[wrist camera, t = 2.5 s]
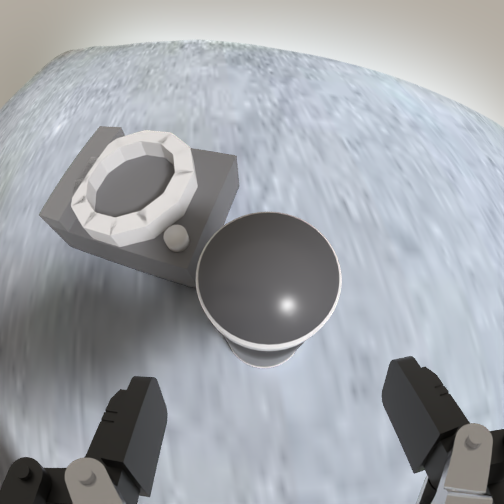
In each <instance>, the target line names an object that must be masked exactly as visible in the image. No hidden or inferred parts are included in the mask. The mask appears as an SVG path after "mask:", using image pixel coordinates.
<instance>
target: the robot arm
mask: <svg viewBox="0 0 504 504" xmlns="http://www.w3.org/2000/svg"><path fill="white" fill-rule="evenodd" d="M382 402H383V406H384V408H385V410H386V412H387V414H388V416H389V419H390V421H391V423H392V425H393V427H394V429H395V432H396V434H397V436H398V438H399V441H400V443H401V445H402V447H403V450H404V452H405V454H406V456H407V459H408V461H409V463H410V466H411V468H412V470H413V473H414V474H415V473H418V472H420V471H423V470H425V471H426V473H427V476H426V478H425V480H424V483H423V486H422V488H421V491H420V494H419V496H418V499H417V502H416V504H504V429H501V430H495V431H489V430H488V429H487V428H486V427H484V426H483V425H480V424H476V423H471V424H470V423H469V421H468V420H467V418H466V417H465V415H464V414H463V412H462V411H461V409H460V408H459V406H458V405H457V403H456V402H455V400H454V399H453V398H452V396H451V395H450V394H448V390H447V389H446V388H445V386H443V383H442V382H441V380H440V379H439V378H438V376H437V375H436V374H435V373H433V372H432V371H431V370H429V369H428V368H426V367H422V368H421V367H420V365H419V364H418V363H417V361H416V360H415V358H414V357H412V356H409V357H404V358H399V359H395V360H392V361H391V362H390V364H389V368H388V372H387V375H386V379H385V383H384V386H383V390H382ZM166 424H167V408H166V405H165V402H164V399H163V396H162V393H161V390H160V387H159V384H158V381H157V379H156V378H155V377H139V376H134V377H133V378H132V379H131V382H130V384H129V386H128V389H127V390H121V389H120V390H119V391H118V392H117V393H116V394H115V395H114V396H113V397H112V398H111V399H110V401H109V403H108V406H107V408H106V412H104V415H103V417H102V421H101V422H100V424H99V426H98V428H97V431H96V433H95V435H94V438H93V440H92V442H91V445H90V447H89V449H88V452H87V454H86V456H85V457H84V458H80V459H77V460H75V461H73V462H72V463H71V464H70V465H69V466H68V467H67V468H43V467H42V466H41V465H40V464H39V463H38V462H37V461H36V460H35V459H32V458H29V457H24V458H20V459H18V460H16V461H15V462H14V463H13V464H12V465H11V467H10V469H9V471H8V473H7V476H6V478H5V480H4V483H3V485H2V487H1V490H0V504H137V502H138V498H139V495H140V496H146V497H150V495H151V490H152V485H153V481H154V476H155V472H156V467H157V463H158V458H159V454H160V449H161V445H162V441H163V437H164V432H165V428H166Z"/></svg>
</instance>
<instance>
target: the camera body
mask: <svg viewBox="0 0 504 504" xmlns="http://www.w3.org/2000/svg"><path fill="white" fill-rule="evenodd" d="M238 188H239V178H238V167H237V156H235V155H229V154H223V153H218V152H212V151H205V150H199V149H192V148H190V147H189V146H188V145H187V144H185V143H184V142H183V141H182V140H180V139H179V138H178V137H176V136H175V135H174V134H173V133H169V132H159V131H149V130H144V131H140V132H137V133H133V134H130V135H127V136H125V135H124V133H123V130H122V128H121V127H102V126H100V127H99V128H98V129H97V131H96V132H95V133H94V134H93V136H92V137H91V138H90V139H89V141H88V142H87V143H86V145H85V146H84V147H83V149H82V150H81V151H80V153H79V154H78V155H77V157H76V158H75V159H74V161H73V162H72V164H71V165H70V166H69V168H68V169H67V171H66V172H65V174H64V175H63V177H62V178H61V180H60V181H59V183H58V184H57V186H56V187H55V189H54V190H53V192H52V194H51V195H50V197H49V198H48V200H47V202H46V203H45V205H44V207H43V208H42V210H41V212H40V213H39V216H40V217H41V218H42V219H43V220H44V221H45V222H46V223H47V224H48V225H49V226H50V227H51V228H52V229H53V230H54V231H55V232H56V233H57V234H58V235H59V236H60V237H61V238H62V239H63V240H64V241H65V242H67V243H68V244H69V245H70V246H71V247H73V248H76V249H79V250H81V251H84V252H87V253H90V254H93V255H95V256H98V257H101V258H104V259H107V260H109V261H112V262H115V263H118V264H121V265H124V266H127V267H130V268H133V269H136V270H139V271H142V272H145V273H148V274H151V275H154V276H157V277H160V278H163V279H166V280H169V281H173V282H176V283H179V284H182V285H185V286H189V287H192V288H195V289H196V270H197V264H198V261H199V258H200V255H201V253H202V251H203V249H204V247H205V245H206V244H207V242H208V241H209V240H210V238H211V237H212V236H213V235H214V234H215V233H216V232H217V231H218V230H219V229H220V228H222V227H223V225H224V222H225V220H226V217H227V215H228V212H229V210H230V208H231V205H232V203H233V200H234V198H235V195H236V193H237V190H238Z"/></svg>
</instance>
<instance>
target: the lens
mask: <svg viewBox="0 0 504 504" xmlns="http://www.w3.org/2000/svg"><path fill="white" fill-rule="evenodd" d="M341 284H342V280H341V269H340V264H339V261H338V258H337V255H336V253H335V251H334V249H333V248H332V246H331V244H330V243H329V241H328V240H327V239H326V238H325V236H324V235H323V234H322V233H321V232H320V231H318V230H317V229H316V228H315V227H313V226H312V225H311V224H309V223H307V222H306V221H304V220H302V219H300V218H297V217H295V216H292V215H288V214H284V213H279V212H258V213H252V214H248V215H244V216H242V217H239V218H236V219H234V220H233V221H231V222H229V223H227V224H226V225H224V226H223V227H222V228H220V229H219V230H218V231H217V232H216V233H215V234H214V235H213V236H212V237H211V238H210V240H209V241H208V242H207V244H206V245H205V247H204V249H203V251H202V253H201V255H200V258H199V261H198V264H197V270H196V289H197V294H198V298H199V301H200V303H201V306H202V308H203V310H204V311H205V313H206V315H207V317H208V318H209V319H210V321H211V322H212V324H213V325H214V326H215V327H216V329H217V330H218V331H219V332H221V333H222V334H223V336H224V337H225V339H226V341H227V342H228V344H229V346H230V348H231V350H232V351H233V353H234V354H235V355H236V356H237V357H238V358H239V359H240V360H241V361H242V362H244V363H245V364H247V365H249V366H252V367H256V368H272V367H276V366H279V365H281V364H283V363H284V362H286V361H287V360H288V359H290V358H291V357H292V356H293V354H294V353H295V352H296V350H297V349H298V348H299V347H300V346H301V345H302V344H303V343H304V342H305V341H306V340H307V339H309V338H310V337H312V336H313V335H314V334H315V333H316V332H317V331H318V330H319V329H320V328H321V327H322V326H323V325H324V324H325V323H326V322H327V320H328V319H329V318H330V316H331V315H332V313H333V311H334V310H335V307H336V305H337V303H338V300H339V296H340V292H341Z"/></svg>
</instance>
